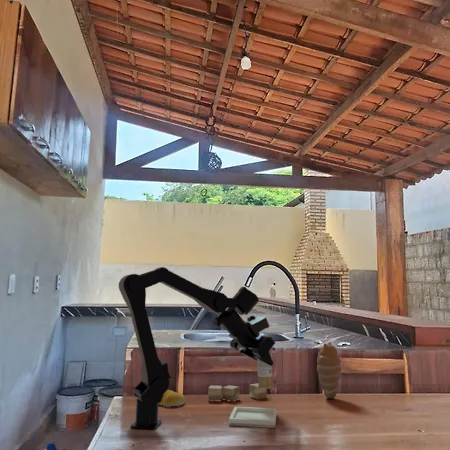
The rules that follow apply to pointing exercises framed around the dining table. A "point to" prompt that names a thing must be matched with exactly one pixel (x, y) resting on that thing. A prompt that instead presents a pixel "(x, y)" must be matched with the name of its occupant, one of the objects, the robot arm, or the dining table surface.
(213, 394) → the oak cube
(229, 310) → the robot arm
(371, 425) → the dining table surface
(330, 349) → the croissant
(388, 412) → the dining table surface
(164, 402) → the bread roll
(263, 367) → the sprinkles bottle
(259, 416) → the tray
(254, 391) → the oak cube
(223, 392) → the oak cube
